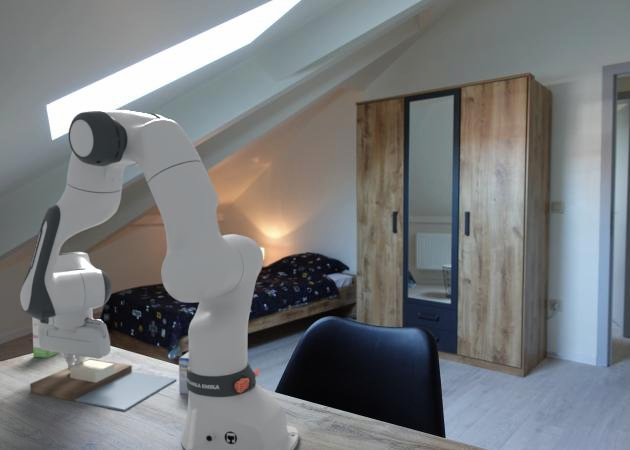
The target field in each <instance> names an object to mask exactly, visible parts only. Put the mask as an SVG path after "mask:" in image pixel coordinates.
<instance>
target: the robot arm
mask: <svg viewBox="0 0 630 450" xmlns="http://www.w3.org/2000/svg"><path fill="white" fill-rule="evenodd" d="M68 142H69V145H70V149H71V154H70V158H69V163H68V167H67V169H68V170H67V176H66V184H65V189H64V191H63V193H62V195H61V196H60V199H59V200H58V201H57V203H56V204H54V205H52V206H50V207H48V208H47V210H46V212H45V215H44V217H43V219H42V222H41V225H40V229H39V232H38V235H37V237H36V238H37V239H36V243H35V246H34V248H33V249H34V250H33V254H32V257H31V261H30V265H29V268H28V270H27V274H26V275H25V276H26V277H25V278H24V281H23V283H22V285H21V290H20V295H19V297H20V305H21V309H22V311H23V312H24V313H25V314H27V315H28V316H30V317H33V318H36V319H38V322H39V323H40V325H39V328H38V340H39V346H40V347H41V349H42V350H47V351H53V352H59V353H58V354H60V353H61V354H63V359H64V360H65V362H66V364H67V368H68V370H69V371H70V368H71V367H73V366H76V365H78V364H81V363H83V362H84V361H85V360H86V358H90V359H96V360H99V359H102V358H105V357H106V356H108V355H109V354H110V353H111V340H110V335H109V330H108V326H107V324H106V323H105V322H104V321H103V320H102V319H95V318H94V313H93V312H94V311H93V310H94V309H99V308H100V307H103V306H104V305H105V304H106V303H107V302H108V301H109V299H110V297H111V295H112V282H111V278H110V276H109V274H107V272H105V271H104V270H102V269H100V268H96V267H95V266H94V265H93V264H92V263H91V261H90V260H91V259H90V257H89V254H88V253H87V252H84V251H73V252H72V251H71V252H66V253H65V252H64V253H60V251H61V248H62V246H63V244H65V242H66V241H68V239H70V238H72V237H73V236H75V235H77V234H78V233H79V234H80V233H81V232H83V231H86V230H88V229H91V228H94V227H97V226H99V225H102V224H103V223H105V222H107V221H108V220H109V219H111V218H112V217H113V216H114V215H115V214H116V213H117V211H118V209H119V207H120V203H121V200H122V191H123V179H124V172H125V169H126V168H127V167H137V166H138V167H140V169H141V170H142V174H143V176H144V178H145V180H146V183H147V185H148V187H149V189H150V192H151V194H152V197H153V199H154V202H155V203H156V206H157V209H158V211H159V213H160V216H161V219H162V221H163V222H162V223H163V225H164V230H165V235H166V236H165V238H166V254H165V257H164V260H163V261H162V265H161V269H160V271H161V273H160V274H161V275H160V276H161V281H162V284H163V287H164V289H165V291H166V292H167V293H168V295H170V296H171V297H172V298H173V299H175V300H176V301H178V302H181V303H199V304H198V306H197V309H196V311H195V314H194V316H193V318H192V319H191V321H190V323H189V325H188V326H189V327H188V331H187V332H188V333H187V334H188V336H187V337H188V352H189V366H188V367H187V388H188V392H189V394H188V396H187V397H188V399H187V409H186V418H185V423H184V429H183V431H182V432H183V433H182V435H181V438H180V440H181V441H180V443H181V445H182V447H183V449H184V450H294V449H296V447H297V445H298V443H299V430H298V428H296V427H294V426H291V425H288V422H287V415H286V411H285V408H284V407H283V405H282V404H281V403H280V402H279V401H278V400H276V399H275V398H274V397H273V396H271V395H270V394H269V393H268V392H267V391H266V390H264V389H263V387H261V386H260V385H259V384H258V383H257V379H256V378H257V377H258V376H259V375H260V374H261V373H260V370H261V369H260V368H257V369H256V370H254V371H253V369H252V367H251V365H250V363H249V361H248V331H249V330H248V329H249V327H248V326H249V319H250V313H251V306H252V303H253V302H252V301H253V298H254V292H255V286H256V283H257V279H258V277H259V274H260V272H261V271H262V269H263V267H264V266H263V264H264V253H263V251H262V248H261V247H260V245H259V244H258V243H257V241H255V240H254V239H253V238H250V237H248V236H245V235H242V234H241V235H239V234H236V233H232V234H224V235H222V233H221V232H220V227H219V223H218V217H217V208H218V206H219V202H220V201H219V196H218V194H217V191H216V189H215V186H214V185H213V182H212V181H211V178H210V175H209V174H208V172H207V170H206V167H205V165H204V162H203V161H202V158H201V156H200V155H199V153H198V151H197V149H196V147H195V146H194V144H193V142H192V140H191V139H190V137H189V136H188V135H187V133H186V131H184V129H183V128H182V126H181V125H180V124H179V123H178V122H176V121H174V120H172V119H168V118H166V117H164V116H163V115H160V114H156V113H143V112H137V111H130V110H127V109H124V110H123V109H122V110H120V109H119V110H118V109H116V110H114V109H113V110H108V109H107V110H100V109H91V110H87V111H83V112H80V113H78V114H76V115H75V116H74V117H73V118H72V120H71V123H70V126H69V128H68Z"/></svg>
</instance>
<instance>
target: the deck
mask: <svg viewBox="0 0 630 450" xmlns="http://www.w3.org/2000/svg"><path fill="white" fill-rule="evenodd" d="M88 360H94V361H100V362H106V363H112V364H114V374H113V375H111V376H108V377H106V378H104V379H102V380H100V381H98V382H96V383H95V382H90V381H84V380H79V379H74V378H70V371H69V370H68V367H66V368H65V369H62V370H60V371H57V372H55V373H53V374H50V375H47V376H45V377H43V378H40V379H38V380H35V381H33V382H31V383H29V384H30V385H29V387H30V393H35V394H40V395H44V396H49V397H53V398H59V399H63V400H68V401H73V402H76V401H75V399H77V398H79V397H81V396H83V395H85V394H87V393H89V392H91V391H93V390H95V389H97V388H99V387H101V386H103V385H105V384H107V383H109V382H111V381H113V380H115V379H117V378H119V377H121V376H123V375H125V374H127V373H129V372H131V371H133V368H132V367H133V365H131V364H125V363H119V362H114V361H113V362H112V361H106V360H102V359H100V360H99V359H97V358H89V359H85V360H84V361H83V362H85V361H88Z"/></svg>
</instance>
